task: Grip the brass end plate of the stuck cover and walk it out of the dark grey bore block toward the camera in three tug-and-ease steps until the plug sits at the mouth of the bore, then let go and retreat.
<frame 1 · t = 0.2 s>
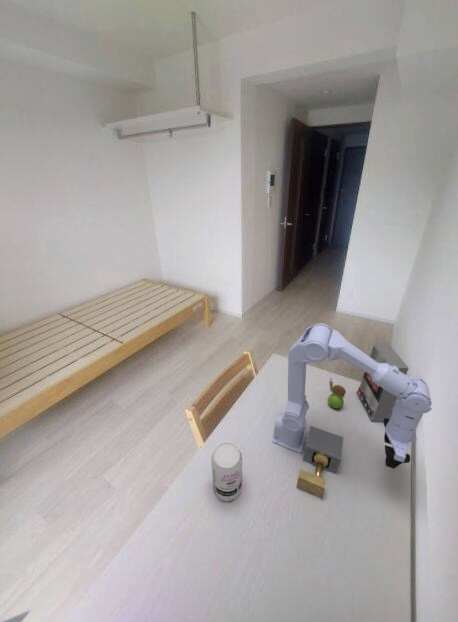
hand: (389, 453, 75), 10 cm above the table, fingers open, 7 cm apart
snail figurine: (333, 405, 103), on the table
supplement can: (227, 487, 78), on the table
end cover: (314, 462, 81), point 3 cm above the table, slide at 0.0 cm
bore block: (321, 455, 85), on the table
cassette tape recorder: (370, 407, 102), on the table
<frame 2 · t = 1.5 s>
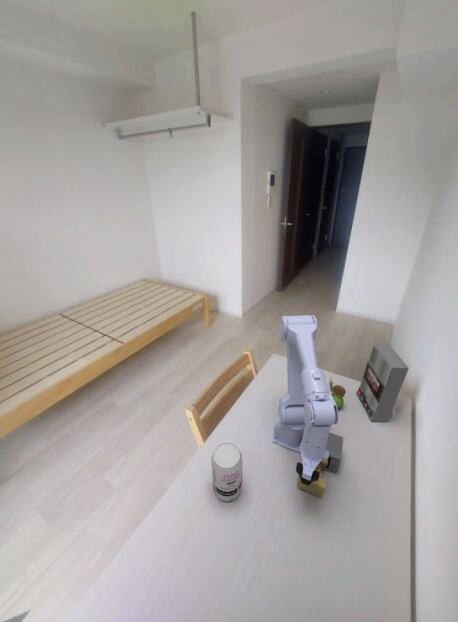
hand: (307, 469, 74), 8 cm above the table, fingers open, 7 cm apart
nothing on the table moved.
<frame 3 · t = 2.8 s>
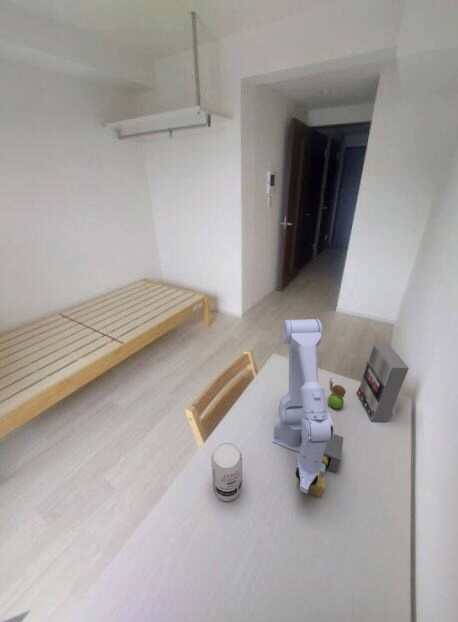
hand: (305, 481, 76), 2 cm above the table, fingers closed on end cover, 2 cm apart
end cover: (314, 462, 81), point 3 cm above the table, slide at 0.0 cm, touching gripper
everything else where it was.
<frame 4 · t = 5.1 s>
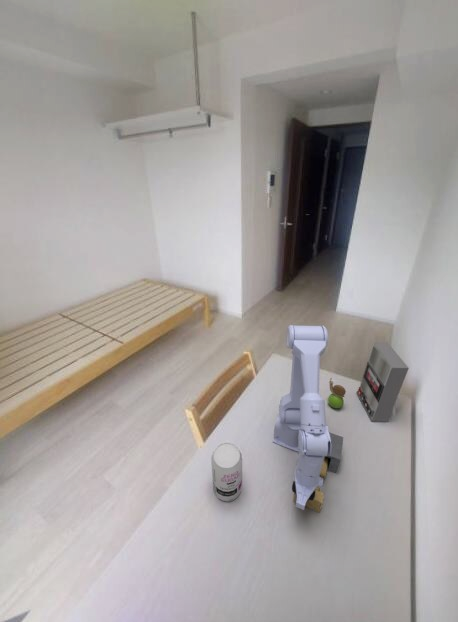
hand: (302, 495, 73), 2 cm above the table, fingers closed on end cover, 2 cm apart
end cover: (312, 474, 77), point 3 cm above the table, slide at 4.0 cm, touching gripper
everything else where it was.
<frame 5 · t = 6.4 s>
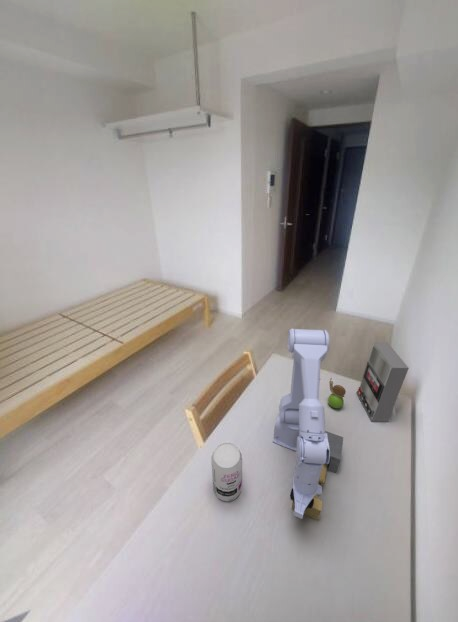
hand: (300, 502, 72), 2 cm above the table, fingers closed on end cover, 2 cm apart
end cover: (311, 481, 76), point 3 cm above the table, slide at 6.0 cm, touching gripper
everything else where it was.
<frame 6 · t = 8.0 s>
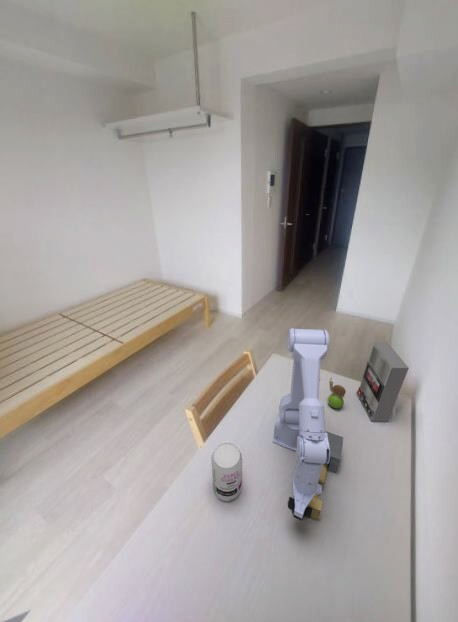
hand: (300, 502, 72), 3 cm above the table, fingers open, 7 cm apart
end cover: (311, 481, 76), point 3 cm above the table, slide at 6.0 cm
everything else where it was.
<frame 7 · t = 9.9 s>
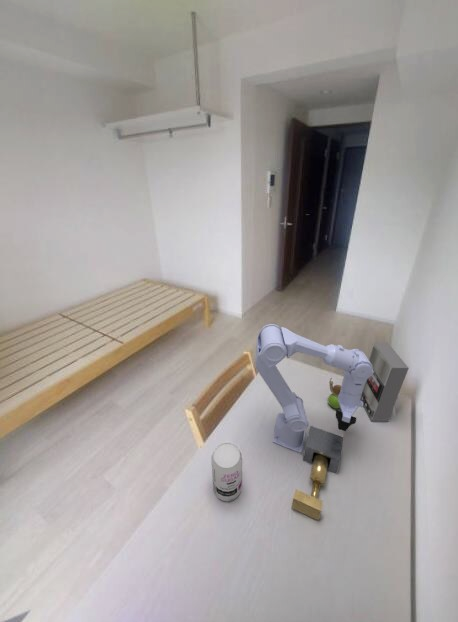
hand: (342, 420, 85), 10 cm above the table, fingers open, 7 cm apart
nothing on the table moved.
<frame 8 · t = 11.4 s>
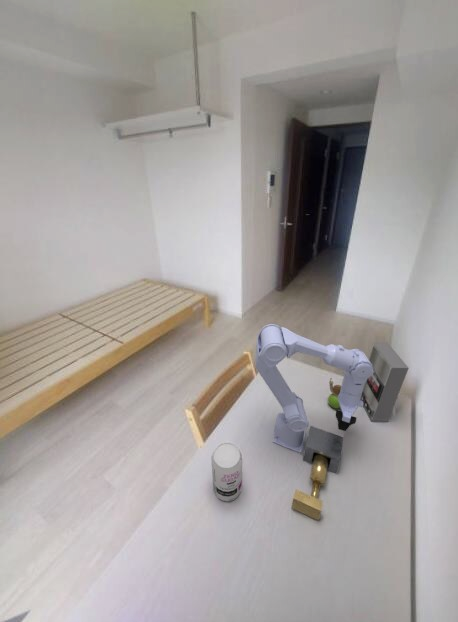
hand: (342, 419, 85), 10 cm above the table, fingers open, 7 cm apart
nothing on the table moved.
at the end: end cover slide at 6.0 cm; the gripper is holding nothing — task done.
